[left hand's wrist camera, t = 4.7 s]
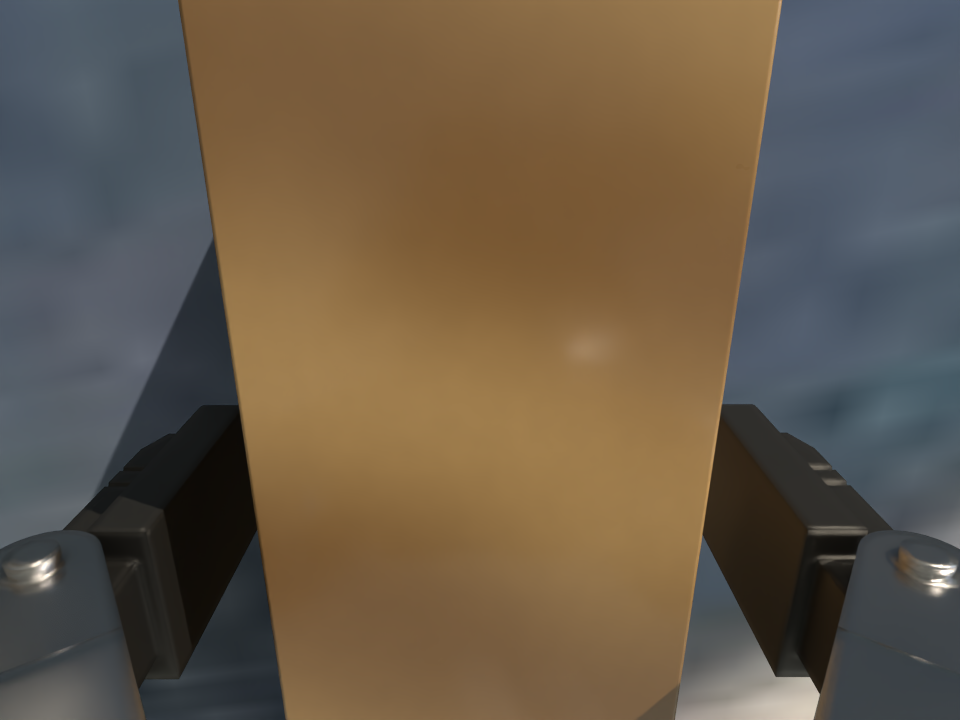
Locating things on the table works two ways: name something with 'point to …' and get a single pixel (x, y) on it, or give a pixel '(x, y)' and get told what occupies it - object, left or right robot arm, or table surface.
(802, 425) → the table surface
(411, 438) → the post
